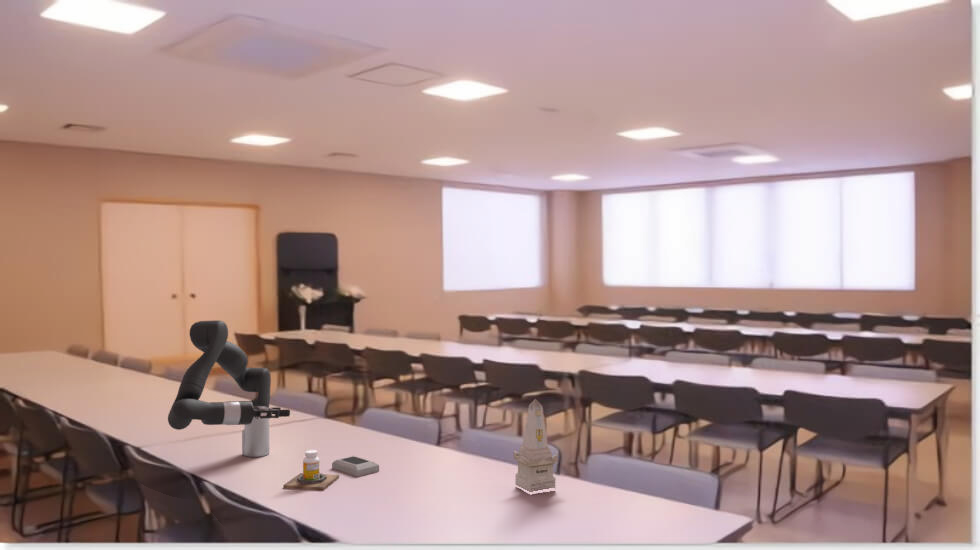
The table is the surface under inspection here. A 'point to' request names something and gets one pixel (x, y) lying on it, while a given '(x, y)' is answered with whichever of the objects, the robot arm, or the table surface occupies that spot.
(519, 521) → the table surface
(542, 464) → the miniature monument
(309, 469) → the supplement bottle
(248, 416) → the robot arm
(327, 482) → the carrier plate
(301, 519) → the table surface
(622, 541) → the table surface
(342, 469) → the grey flat boxy piece
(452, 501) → the table surface
